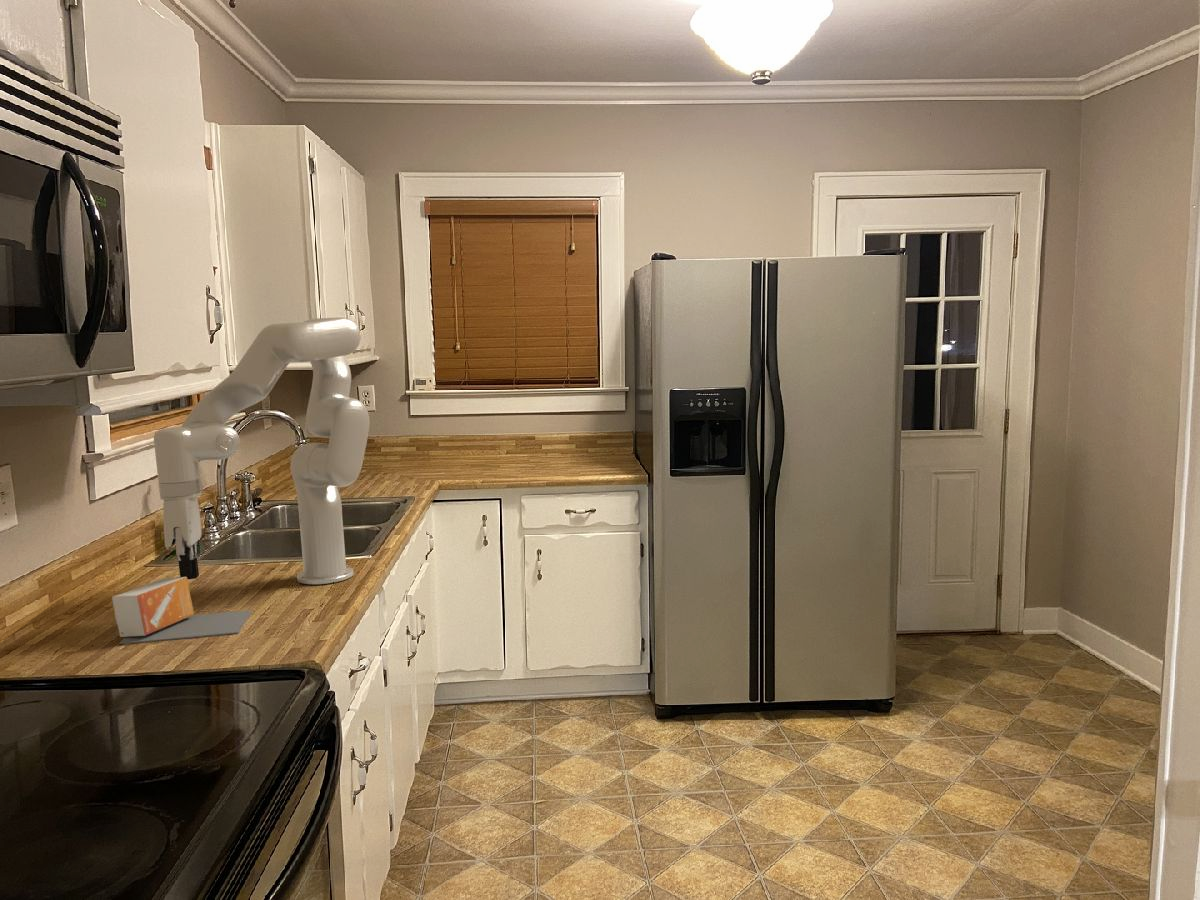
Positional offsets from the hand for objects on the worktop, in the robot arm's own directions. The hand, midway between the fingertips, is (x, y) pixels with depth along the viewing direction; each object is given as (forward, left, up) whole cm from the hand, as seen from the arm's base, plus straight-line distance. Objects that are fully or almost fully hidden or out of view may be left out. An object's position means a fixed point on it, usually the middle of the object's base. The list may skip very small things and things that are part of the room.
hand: (189, 578), depth 179 cm
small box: (0, -2, -3) cm, 4 cm away
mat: (+7, +1, -8) cm, 11 cm away
